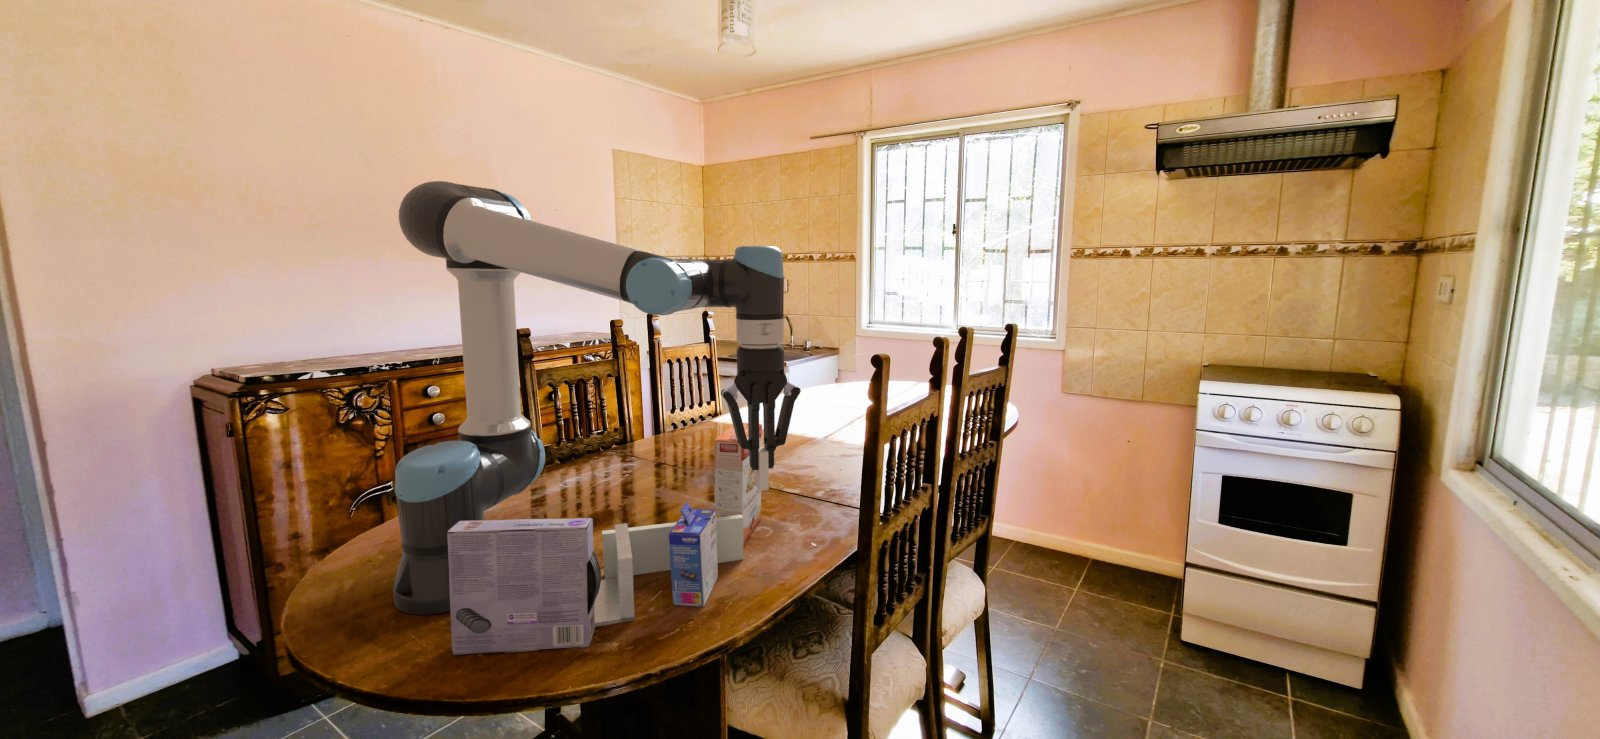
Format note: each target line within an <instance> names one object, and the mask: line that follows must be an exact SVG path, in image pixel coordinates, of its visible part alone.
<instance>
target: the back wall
mask: <svg viewBox="0 0 1600 739" xmlns="http://www.w3.org/2000/svg"><path fill="white" fill-rule="evenodd" d="M677 522H678V521H675V522H666V523H658V524H649V525H642V526H641V525H639V526H633V527H628V531H629V538H630V545H631V552H632V563H633V576H637V575H643V574H650V573H651V574H652V573H658V572H664V571H671V563H670V546H669V533H670V531H671V530H672V529H673V527H674V526H675V524H676V523H677ZM601 532H602V533H601V534H602V550H603V551H602V553H603V554H602V555H603V556H602V557H603V573H604V575H603V576H604V579H611V578H617V565H616V541H615V528H614V529H607V530H602V531H601ZM716 537H717V564H721V563H727V562H728V563H729V562H735V561H742V560H744V545H743V516H742V515H732V516H724V517H716ZM604 579H603V580H604Z"/></svg>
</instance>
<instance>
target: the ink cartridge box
mask: <svg viewBox="0 0 1600 739" xmlns="http://www.w3.org/2000/svg"><path fill="white" fill-rule="evenodd" d="M679 511H680V514H681V516H680V517H679V519H678V521H676V522H677V523H676V524H675V526H674V527H673V529H672V530H671V531H670V533H669V546H670V563H671V570H670V576H671V591H672V594H671V595H672V604H673V605H675V606H685V607H686V606H687V607H699V608H702V607H704V606H705V605H706V603H707V601H708V600H709V599H708V598H709V597H710V594H711V592H712V590H713V588H714V586H715V584H716V582H717V579H718V577H719V570H718V569H719V568H718V564H719V563H717V537H716V516H715V509H700V508H693V507H691V506H690V504H689V503H688V502H685V503H684V505H683V506H682V507H681V509H680V510H679Z"/></svg>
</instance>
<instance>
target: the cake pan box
mask: <svg viewBox="0 0 1600 739" xmlns="http://www.w3.org/2000/svg"><path fill="white" fill-rule="evenodd" d="M447 540H448V560H449V592H450V611H449V613H450V634H451V635H450V636H451V637H450V638H451V652H452V655H453V656H463V655H473V654H488V653H503V652H504V653H508V654H509V653H524V652H537V651H539V650H549V649H550V650H551V649H563V648H564V649H566V648H567V649H569V648H589V647H590V645H591V642H592V639H593V636H594V634H595V630H596V629H595V628H596V627H595V614H594V603H595V600H596V597H597V595H598V592H599V588H600V584H601V580H602V570H601V566H600V565H601V564H600V562H599V558H598V556H597V555H596V554H597V553H596V552H595V550H594V519H593V518H592V517H576V518H575V517H573V518H571V517H570V518H522V519H521V518H520V519H517V518H515V519H490V520H489V519H487V520H485V519H484V520H478V521H459V522H458V523H457V524H455V525H454V526H453V527H452V528H451V529H450V530H448V534H447Z"/></svg>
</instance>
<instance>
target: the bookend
mask: <svg viewBox="0 0 1600 739" xmlns="http://www.w3.org/2000/svg"><path fill="white" fill-rule="evenodd" d="M628 528H629V526H628V522H625V523H617V524H614V529H615V541H616V565H617V577H616V578H609V579H601V584H600V588H599V592H598V595H597V597H596V600H595V603H594V614H595V628H596V627H602V626H603V627H604V626H609V625H615V624H619V623H620V624H621V623H626V622H632V621H633V622H634V621H635V620H636V618H635V617H636V616H635V594H634V593H635V592H634V591H635V590H634V575H633V563H632V552H631V545H630V538H629V531H628Z"/></svg>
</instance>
